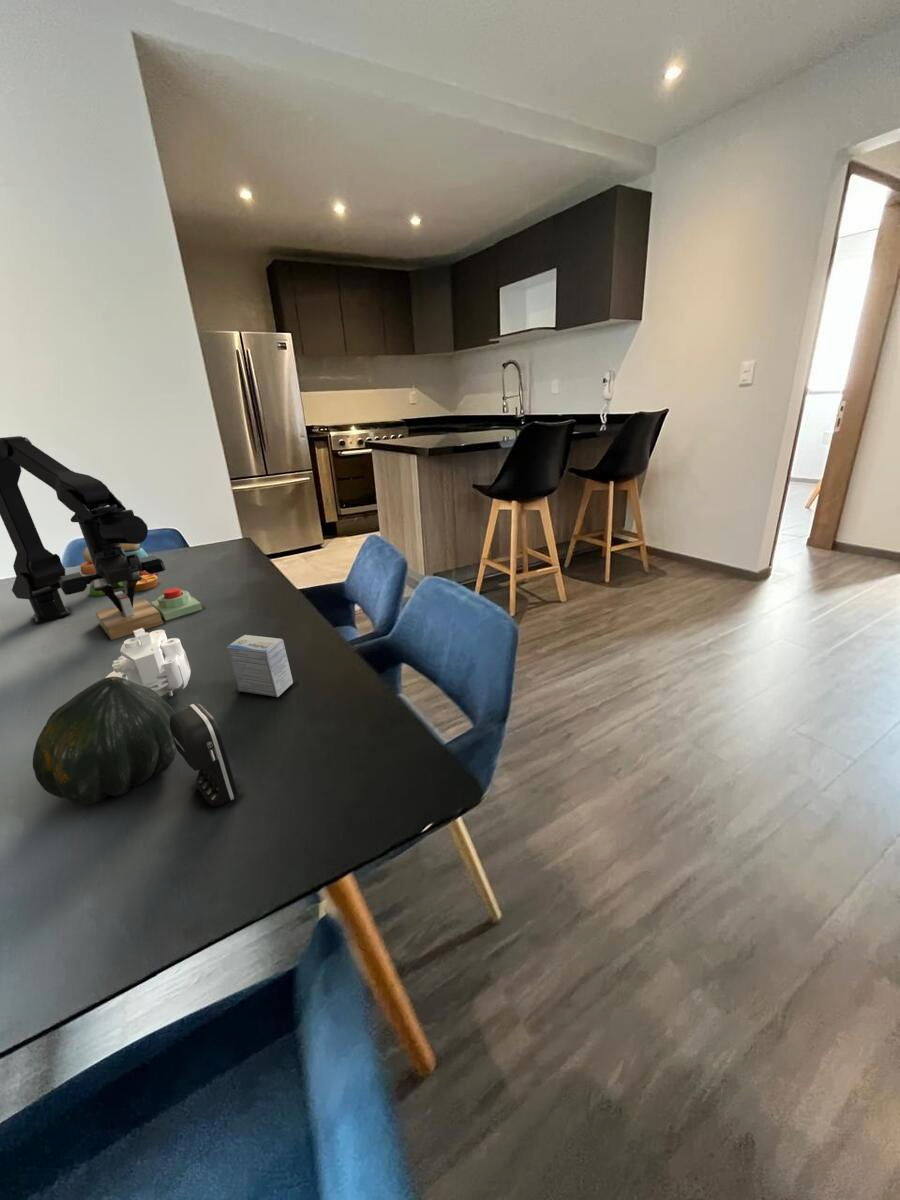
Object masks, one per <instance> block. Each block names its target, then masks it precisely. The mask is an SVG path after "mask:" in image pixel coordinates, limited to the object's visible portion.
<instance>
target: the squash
mask: <svg viewBox="0 0 900 1200" xmlns="http://www.w3.org/2000/svg"><path fill="white" fill-rule="evenodd" d="M174 713H176V712H175V711H174V709H173V707H172V706H171V705H170V704H169V703H168V701H165V700H164V699H163V698H162V696H161V697H160V696H159V695H158V694H157V693H156V692H155V691H154V690H152V689H150V688H148V687H146V686H144V685H142V684H139V683H135V682H133V681H130V680H127V679H124V678H120V677H108V678H106V677H105V678H101V679H100V680H98V681H96V682H94V683H93V684H91V685H89V686H88V687H86V688H85V689H83V690H81V691H79V692H78V693H77V694H76V695H74V696H73V697H72V698H71V699H69V700H68V701H66V702H65V703H63V704H62V705H60V706H59V707H58V708H56V710H55V711H53V712H52V713H51V715H50V716H49V717H48V719H47V721H46V723H45V725H44V727H43V728H42V730H41V732H40V733H39V735H38V738H37V740H36V742H35V746H34V750H33V754H32V769H33V772H34V776H35V778H36V781H37V782H38V784H39V785H40V786H41V787H42V789H43V790H44V791H45V792H46V793H48V794H50V795H52V796H54V797H57V798H59V799H65V800H67V801H69V802H70V803H72V804H74V805H79V806H85V805H86V806H87V805H93V804H96V803H99V802H100V801H102V800H103V799H105V798H106V797H107V796H108V795H109V796H114V797H118V796H121V795H124V794H126V793H127V792H128V791H129V790H130V788H131V786H140V785H141V784H144V783H145V782H147V780H148V779H149V778H150V777H151V778H152V777H154V776H156V775H159V774H161V773H162V772H164V771H165V770H167V769H168V768H169V767H170V766H171V765H172V763H173V762H174V760H175V758H176V752H177V749H176V746H175V743H174V739H173V736H172V732H171V728H170V718H171V716H172V715H173V714H174Z"/></svg>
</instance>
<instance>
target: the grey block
mask: <svg viewBox="0 0 900 1200" xmlns="http://www.w3.org/2000/svg"><path fill="white" fill-rule="evenodd" d="M114 594H115V596H116V597H117V599H118V601H119V603H120V605H121V608H122V611H123V614H124V615H125V616H126V617H128V616H131V615H134V611H133V608H132V605H131V602H130V599H129V598H128V597H127V596H126V595H125V592H123V590H121V591H117V592H114Z"/></svg>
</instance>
